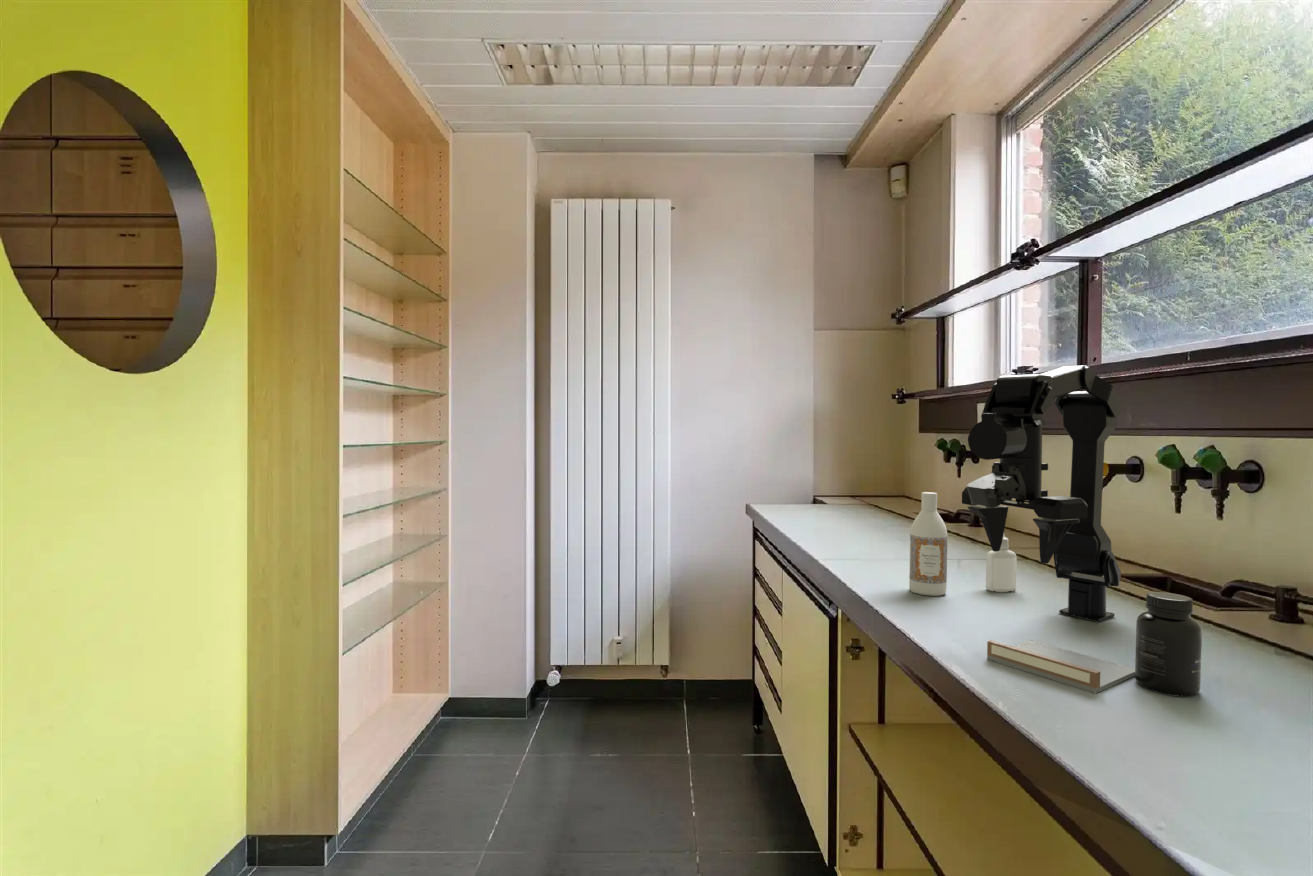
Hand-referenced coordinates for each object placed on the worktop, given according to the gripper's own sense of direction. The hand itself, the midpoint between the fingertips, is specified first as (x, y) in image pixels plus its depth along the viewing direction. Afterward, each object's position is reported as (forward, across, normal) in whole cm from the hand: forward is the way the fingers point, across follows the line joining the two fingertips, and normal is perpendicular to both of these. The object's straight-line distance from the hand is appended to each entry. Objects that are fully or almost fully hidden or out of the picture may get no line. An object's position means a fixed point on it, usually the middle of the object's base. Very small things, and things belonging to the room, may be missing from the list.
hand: (1019, 557), depth 105 cm
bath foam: (+14, -30, +8) cm, 34 cm away
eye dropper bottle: (+14, -26, +23) cm, 38 cm away
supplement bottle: (+14, +20, +4) cm, 24 cm away
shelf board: (+13, +10, -2) cm, 17 cm away
